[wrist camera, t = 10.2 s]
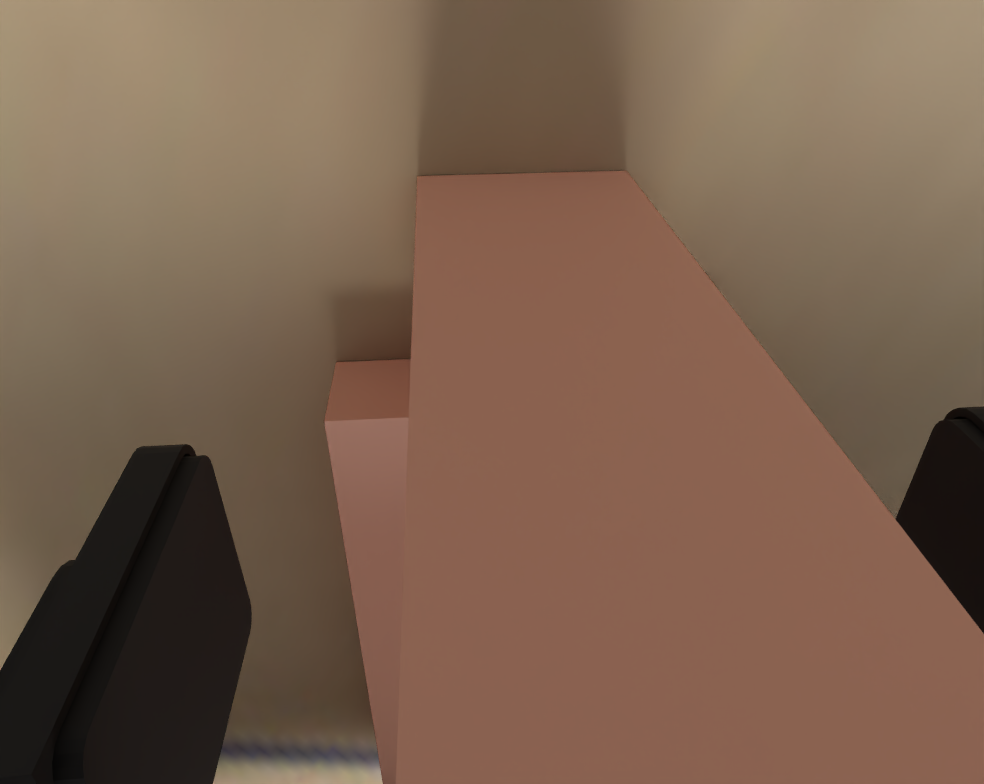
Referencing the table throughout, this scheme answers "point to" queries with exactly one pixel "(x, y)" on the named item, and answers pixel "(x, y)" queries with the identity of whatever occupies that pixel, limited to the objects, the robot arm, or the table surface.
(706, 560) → the block
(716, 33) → the table surface
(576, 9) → the table surface
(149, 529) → the robot arm
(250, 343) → the table surface
